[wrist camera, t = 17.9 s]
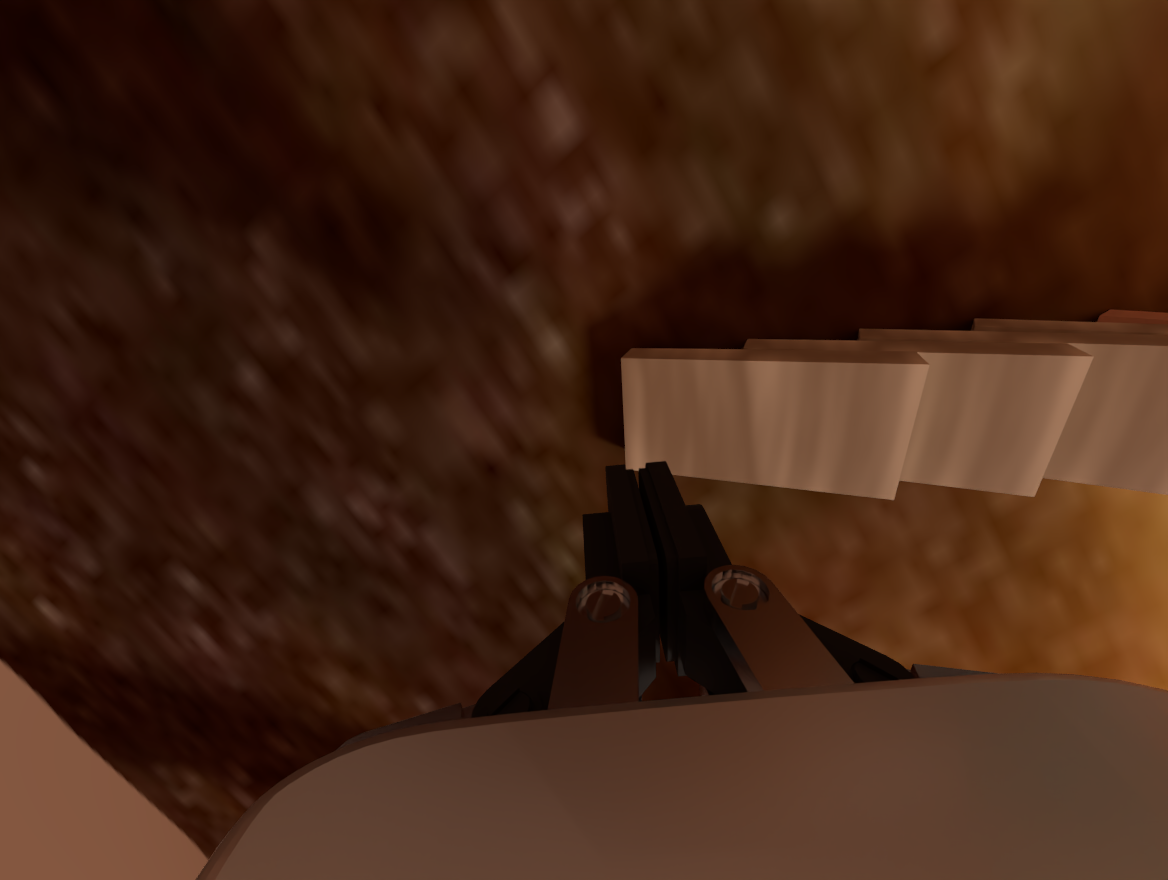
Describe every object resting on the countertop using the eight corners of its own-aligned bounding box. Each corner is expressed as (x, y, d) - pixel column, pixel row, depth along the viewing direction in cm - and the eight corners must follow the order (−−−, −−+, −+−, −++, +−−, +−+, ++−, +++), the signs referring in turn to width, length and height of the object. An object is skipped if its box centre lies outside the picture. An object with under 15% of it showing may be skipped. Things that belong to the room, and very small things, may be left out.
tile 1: (625, 469, 19) (893, 500, 16) (620, 358, 17) (929, 364, 14) (635, 452, 21) (884, 477, 17) (631, 348, 18) (915, 351, 15)
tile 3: (838, 450, 19) (1178, 496, 15) (859, 337, 17) (1266, 348, 13) (839, 435, 21) (1153, 474, 16) (859, 328, 18) (1229, 336, 14)
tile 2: (734, 460, 19) (1034, 496, 15) (743, 348, 17) (1093, 356, 13) (739, 444, 21) (1016, 474, 17) (747, 338, 18) (1067, 343, 14)
